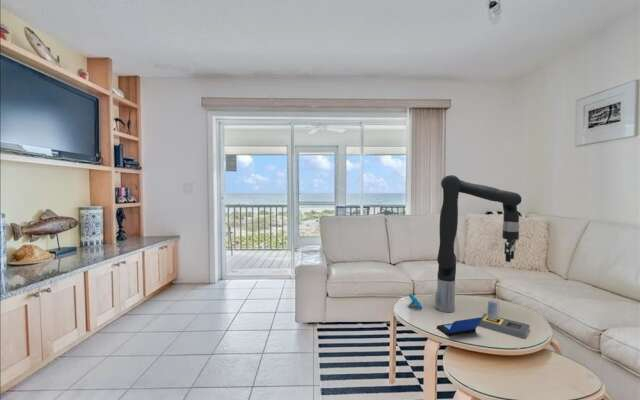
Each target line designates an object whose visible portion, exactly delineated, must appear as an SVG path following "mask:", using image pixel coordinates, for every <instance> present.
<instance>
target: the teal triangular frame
mask: <svg viewBox="0 0 640 400" xmlns="http://www.w3.org/2000/svg"><path fill="white" fill-rule="evenodd" d="M408 297H409V298H410V300H411V301H412V302H411V303H410V304H409V305H408V308H411V307H412V306H413V305H416V307H417V308H419V310H422V309H423V307H422V305H421V303H420V301H419V300H418V299H417V297H415V295H413V294H412V293H409V294H408Z"/></svg>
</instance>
